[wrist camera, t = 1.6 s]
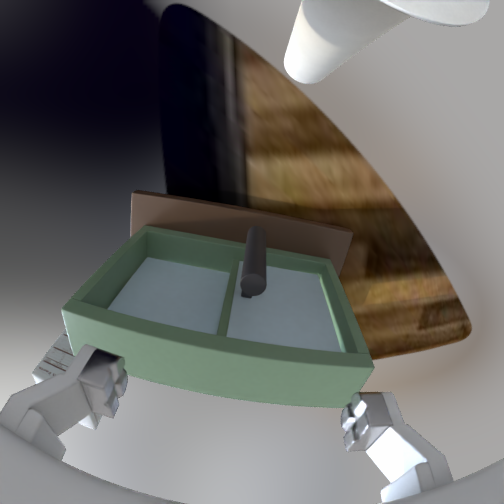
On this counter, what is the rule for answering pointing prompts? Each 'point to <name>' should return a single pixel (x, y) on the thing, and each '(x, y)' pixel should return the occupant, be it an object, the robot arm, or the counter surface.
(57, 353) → the white packaging box
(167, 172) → the counter surface
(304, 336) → the sliding pane
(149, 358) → the window frame
